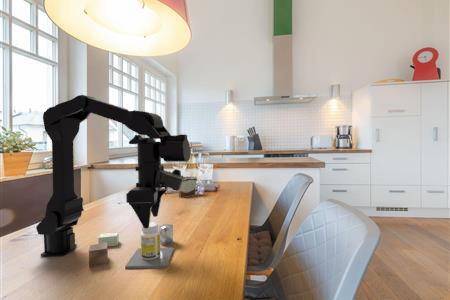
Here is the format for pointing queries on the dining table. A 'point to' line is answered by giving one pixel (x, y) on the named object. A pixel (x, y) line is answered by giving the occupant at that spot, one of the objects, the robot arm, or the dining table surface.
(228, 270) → the dining table surface
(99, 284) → the dining table surface
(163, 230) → the metal shaker
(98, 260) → the walnut block
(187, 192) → the food container
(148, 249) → the supplement bottle
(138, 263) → the coaster
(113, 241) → the sage box
